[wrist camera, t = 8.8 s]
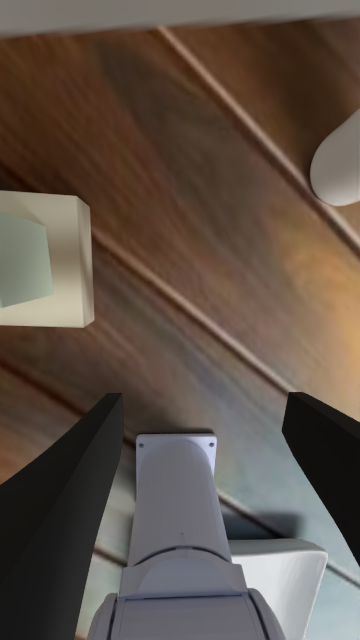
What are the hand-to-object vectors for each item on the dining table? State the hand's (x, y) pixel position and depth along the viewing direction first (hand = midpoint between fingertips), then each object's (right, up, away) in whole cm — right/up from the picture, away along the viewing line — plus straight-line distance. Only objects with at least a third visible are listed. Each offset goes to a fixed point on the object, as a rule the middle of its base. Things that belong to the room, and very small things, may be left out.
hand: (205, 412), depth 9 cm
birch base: (-13, +9, +9) cm, 18 cm away
